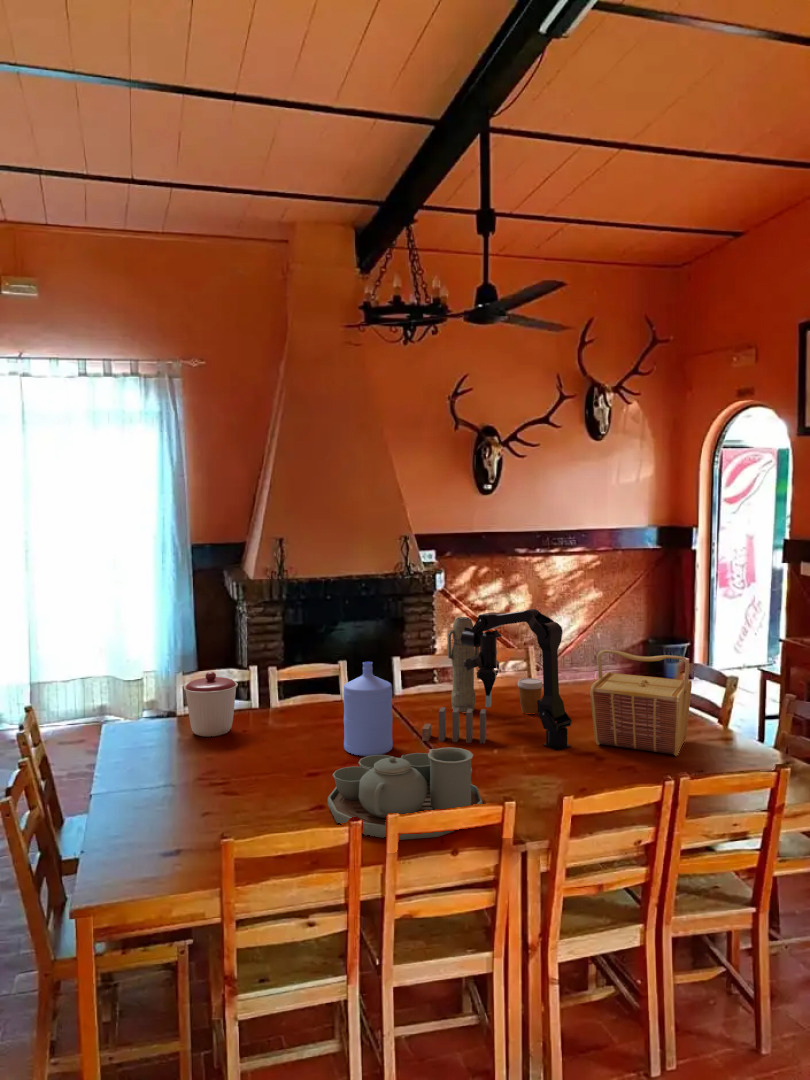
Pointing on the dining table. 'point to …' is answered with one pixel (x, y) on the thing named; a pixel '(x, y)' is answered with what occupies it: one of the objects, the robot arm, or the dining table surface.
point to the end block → (426, 732)
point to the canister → (211, 704)
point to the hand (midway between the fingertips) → (488, 693)
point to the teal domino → (488, 701)
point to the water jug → (368, 714)
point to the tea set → (403, 788)
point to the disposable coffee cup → (529, 694)
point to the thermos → (462, 667)
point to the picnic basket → (641, 708)
